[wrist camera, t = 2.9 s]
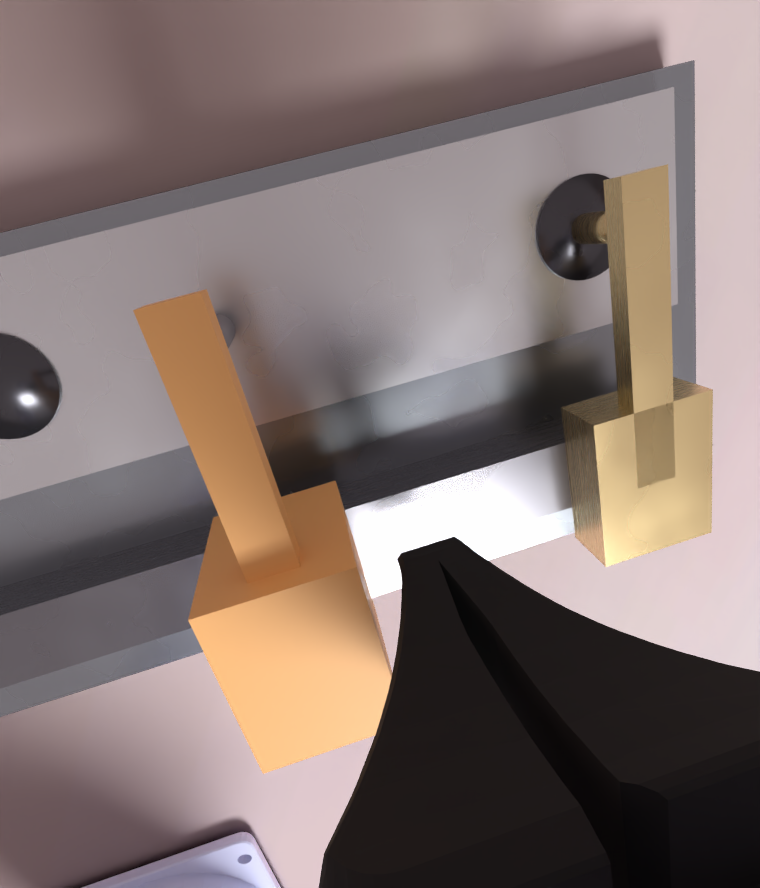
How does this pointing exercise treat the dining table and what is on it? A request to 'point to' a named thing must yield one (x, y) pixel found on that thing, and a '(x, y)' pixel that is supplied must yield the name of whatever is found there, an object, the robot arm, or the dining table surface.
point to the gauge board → (360, 365)
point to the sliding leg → (268, 562)
